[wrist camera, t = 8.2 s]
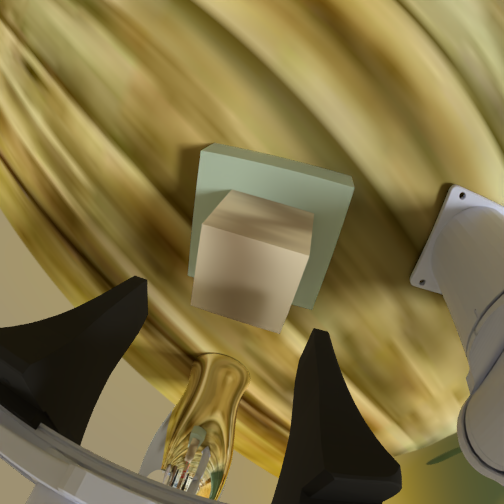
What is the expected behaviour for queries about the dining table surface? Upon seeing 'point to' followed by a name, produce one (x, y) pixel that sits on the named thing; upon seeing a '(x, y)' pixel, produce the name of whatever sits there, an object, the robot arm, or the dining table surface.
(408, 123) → the dining table surface
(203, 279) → the ash cube
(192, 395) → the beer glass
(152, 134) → the dining table surface
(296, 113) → the dining table surface
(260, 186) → the green slab
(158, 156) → the dining table surface
